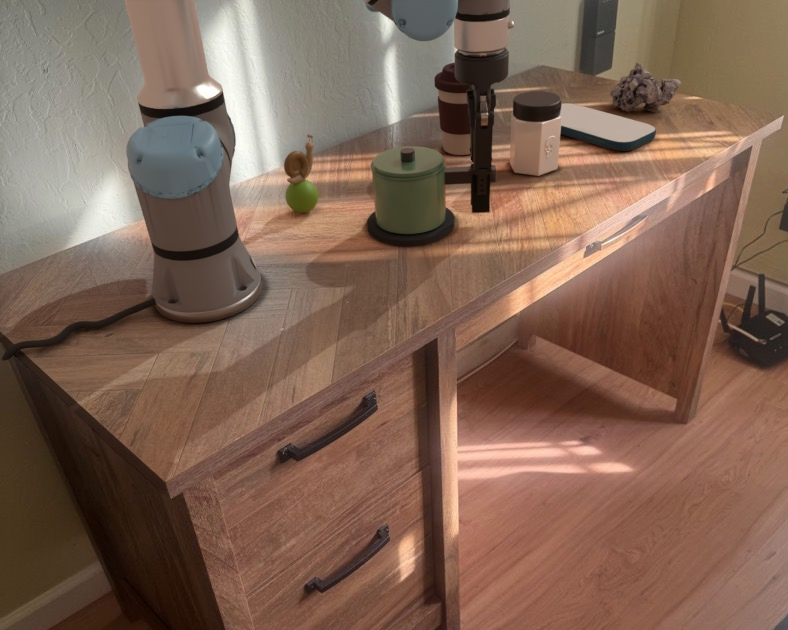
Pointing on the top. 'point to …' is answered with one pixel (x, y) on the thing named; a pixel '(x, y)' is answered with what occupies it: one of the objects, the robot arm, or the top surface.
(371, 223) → the trivet
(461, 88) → the coffee cup
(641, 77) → the mineral specimen
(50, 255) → the top surface
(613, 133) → the external hard drive
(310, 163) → the snail figurine
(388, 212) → the pot
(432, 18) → the robot arm
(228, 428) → the top surface
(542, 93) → the jar
